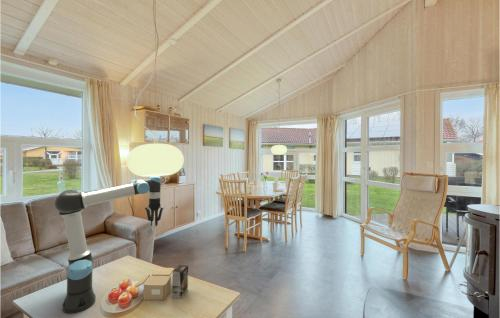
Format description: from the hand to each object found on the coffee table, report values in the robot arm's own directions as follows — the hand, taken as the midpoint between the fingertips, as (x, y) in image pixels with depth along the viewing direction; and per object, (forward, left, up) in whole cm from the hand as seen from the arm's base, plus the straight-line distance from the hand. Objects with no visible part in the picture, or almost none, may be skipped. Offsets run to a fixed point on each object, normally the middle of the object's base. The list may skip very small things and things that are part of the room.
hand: (154, 230), depth 164 cm
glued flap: (+5, -23, -23) cm, 33 cm away
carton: (+12, -19, -32) cm, 39 cm away
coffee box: (+26, -22, -33) cm, 47 cm away
